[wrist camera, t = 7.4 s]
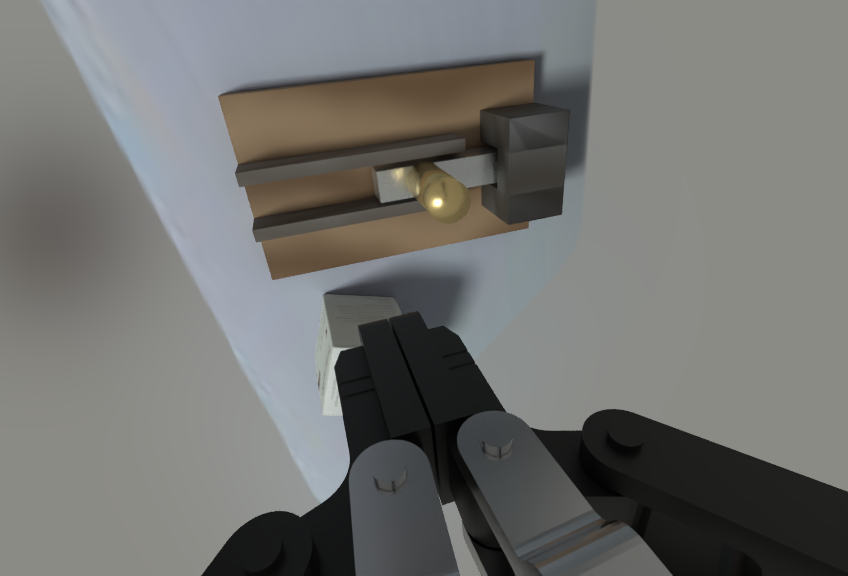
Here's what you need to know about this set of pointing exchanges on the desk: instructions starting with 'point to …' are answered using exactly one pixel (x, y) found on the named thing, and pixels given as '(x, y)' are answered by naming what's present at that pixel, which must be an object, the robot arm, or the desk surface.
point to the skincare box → (343, 337)
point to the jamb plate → (390, 160)
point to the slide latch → (437, 181)
